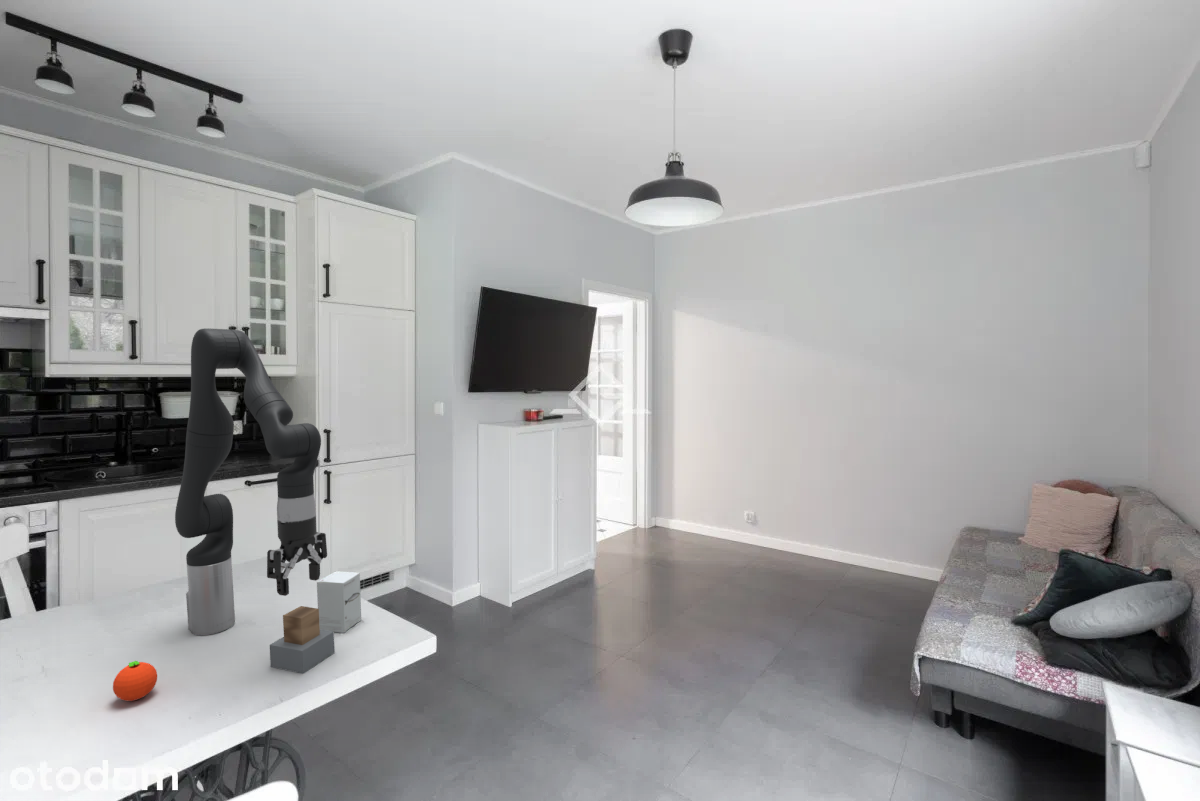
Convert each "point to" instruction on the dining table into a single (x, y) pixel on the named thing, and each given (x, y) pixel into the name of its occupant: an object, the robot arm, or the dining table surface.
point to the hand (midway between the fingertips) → (299, 587)
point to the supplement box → (339, 601)
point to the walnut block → (301, 625)
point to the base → (302, 652)
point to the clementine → (135, 681)
